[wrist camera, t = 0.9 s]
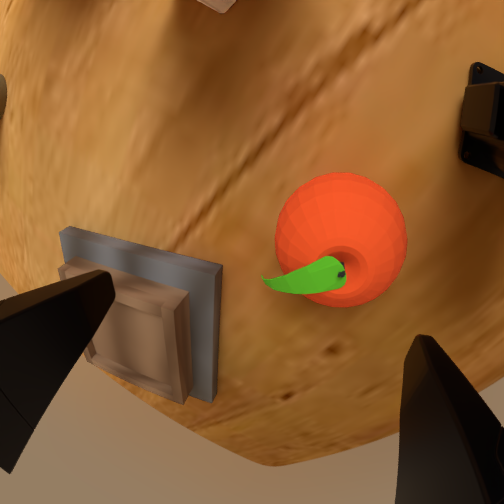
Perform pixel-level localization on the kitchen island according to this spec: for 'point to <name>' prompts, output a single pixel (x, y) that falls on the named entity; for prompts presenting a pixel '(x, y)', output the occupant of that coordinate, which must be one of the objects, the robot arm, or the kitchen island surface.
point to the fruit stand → (152, 314)
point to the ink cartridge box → (218, 4)
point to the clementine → (339, 241)
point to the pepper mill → (2, 94)
